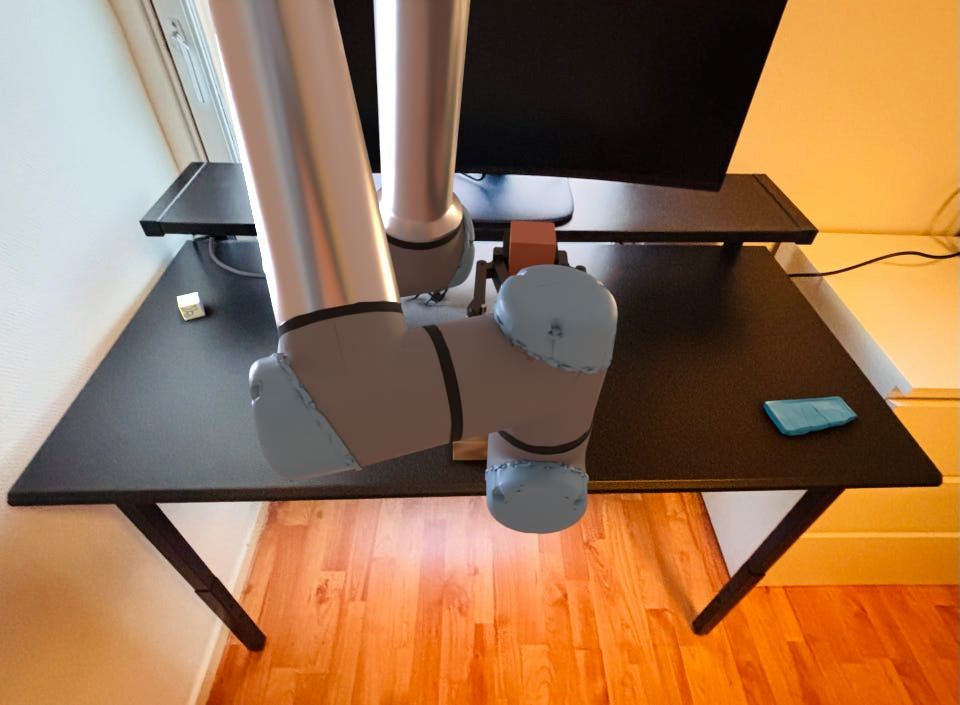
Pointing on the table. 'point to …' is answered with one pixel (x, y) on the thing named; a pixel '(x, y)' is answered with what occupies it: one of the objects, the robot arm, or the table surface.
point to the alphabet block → (191, 306)
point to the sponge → (808, 414)
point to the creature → (433, 297)
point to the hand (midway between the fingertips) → (529, 239)
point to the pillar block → (531, 245)
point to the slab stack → (471, 448)
